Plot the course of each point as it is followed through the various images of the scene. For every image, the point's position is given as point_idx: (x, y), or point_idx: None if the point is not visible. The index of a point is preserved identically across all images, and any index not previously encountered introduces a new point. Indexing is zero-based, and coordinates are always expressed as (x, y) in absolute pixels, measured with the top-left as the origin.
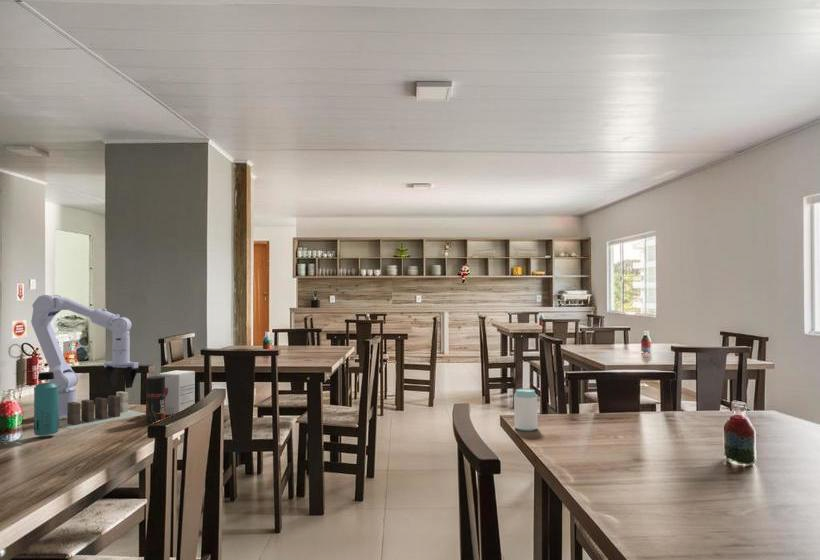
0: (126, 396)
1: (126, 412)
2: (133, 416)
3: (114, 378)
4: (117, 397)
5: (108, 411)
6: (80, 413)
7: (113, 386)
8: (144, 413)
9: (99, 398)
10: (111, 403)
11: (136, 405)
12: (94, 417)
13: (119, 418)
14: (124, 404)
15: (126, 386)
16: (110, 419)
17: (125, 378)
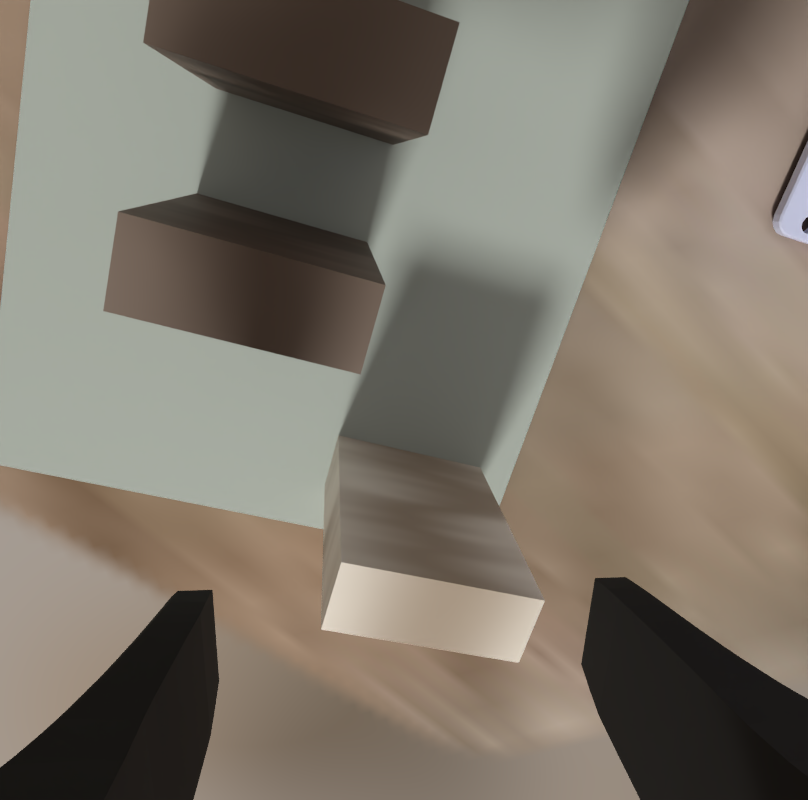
0: (327, 568)
1: (301, 442)
2: (7, 295)
3: (667, 776)
4: (114, 257)
5: (356, 244)
6: (782, 232)
7: (592, 621)
8: (36, 458)
9: (336, 19)
10: (270, 236)
11: (516, 727)
12: (456, 114)
13: (74, 150)
14: (334, 486)
15: (184, 604)
16: (137, 64)
17: (125, 727)
